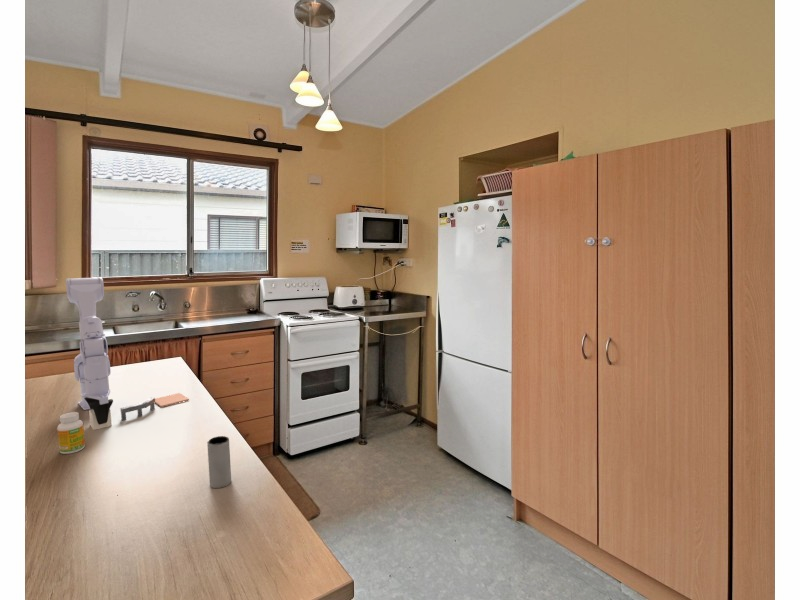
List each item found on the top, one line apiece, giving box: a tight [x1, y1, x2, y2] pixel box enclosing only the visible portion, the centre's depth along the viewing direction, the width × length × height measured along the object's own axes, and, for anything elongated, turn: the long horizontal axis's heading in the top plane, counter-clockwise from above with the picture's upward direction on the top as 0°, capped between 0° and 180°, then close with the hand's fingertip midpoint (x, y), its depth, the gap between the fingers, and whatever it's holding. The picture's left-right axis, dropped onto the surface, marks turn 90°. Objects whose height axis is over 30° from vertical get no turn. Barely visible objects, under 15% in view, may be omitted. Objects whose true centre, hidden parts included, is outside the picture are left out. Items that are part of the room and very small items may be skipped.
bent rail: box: [119, 397, 156, 421], centre depth 137 cm, size 5×10×4 cm, turn 137°
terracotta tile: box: [154, 392, 190, 408], centre depth 149 cm, size 9×9×1 cm
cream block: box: [88, 409, 112, 431], centre depth 128 cm, size 4×4×5 cm
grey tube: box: [206, 435, 232, 489], centre depth 96 cm, size 4×4×10 cm
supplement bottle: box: [56, 411, 86, 455], centre depth 112 cm, size 5×5×10 cm
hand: (100, 421), depth 128 cm, fingers closed on cream block, 4 cm apart
